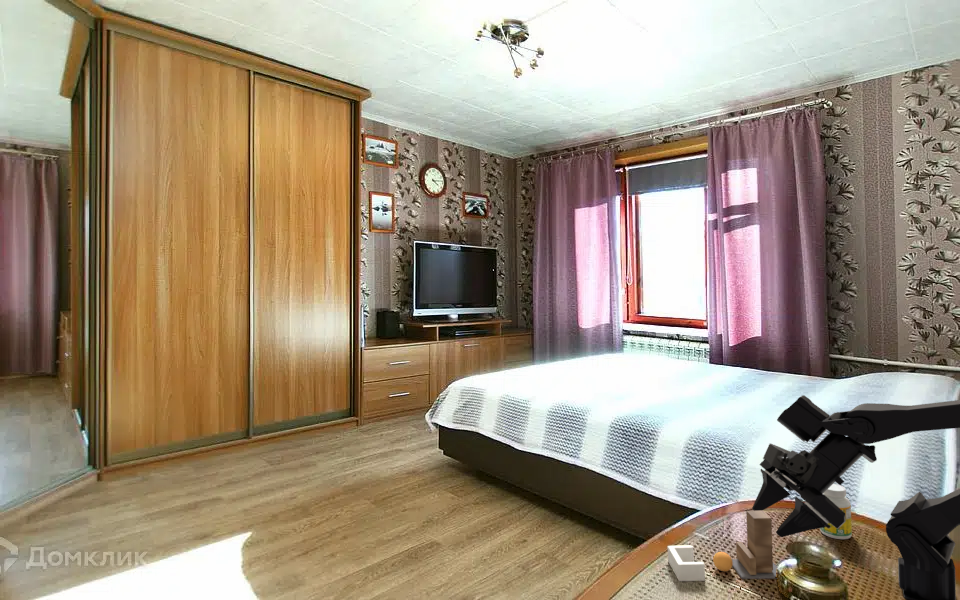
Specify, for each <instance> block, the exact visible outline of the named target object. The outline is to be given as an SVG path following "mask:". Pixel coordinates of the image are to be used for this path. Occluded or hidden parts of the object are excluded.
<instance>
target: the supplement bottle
mask: <svg viewBox="0 0 960 600" xmlns="http://www.w3.org/2000/svg"><path fill="white" fill-rule="evenodd" d="M823 494H824V495H825V496H826V497H827V498H829V499H830V500H831V501H832V502H833V503H834V504H835V505H836V506H837V507H839V508H840V509H841V510H842V511H843V512H844V513H845V514H846V522H845V523H844V524H843V525H842V526H840V527H839V528H838V529H837V528H835V527H834V526H833V525H832V524H830V523H828V525H829V526H830V527H831V528H829V529H828V528H827V527H824V528H819V530H820V533H822V534H823V535H824V536H827V537H829V538H831V539H837V540H848V539H850V538H851V537H852V533H853V532H852V531H853V529H852V526H853V525H852V507H851V506H852V505H851V501H850V499H849V498H848V497H846V496H847V489H846V487H844V486H843V485H842V484H841V485H839V484H837V483H833V484H832V485H831V486H830V487H829V488H828V489H827V490H826V491H825V492H824V493H823Z"/></svg>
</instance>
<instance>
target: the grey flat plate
mask: <svg viewBox="0 0 960 600" xmlns="http://www.w3.org/2000/svg"><path fill="white" fill-rule="evenodd" d="M731 559H732V558H731ZM732 562H733V565H732V568H733V570H735V572H736V573H737V575H739V577H740V578H741V579H742V580H744V579H745V580H749V579H753V580H755V579H757V580H761V579H776V578H775V577H776V568H777V567H778V566H777V565H776V563H774V562H773V570H772V573H756V575H750V574H749V572H748V571H747V570H746V569H745V567H744V566H743V565H742V564H741V562H740V561H739V560H738V559H737V558H736V559H735V558H733V559H732Z"/></svg>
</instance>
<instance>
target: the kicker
mask: <svg viewBox="0 0 960 600" xmlns="http://www.w3.org/2000/svg"><path fill="white" fill-rule="evenodd" d="M772 520H773V519H772V517H771V516H770V515H769V514H768V513H766V512H765V510H760V511H754V510H746V536H747V537H746V538H747V539H746V540H747V542H746V543H747V545H745V544H744V543H743V541H736V542H735V549H736V559H738V560H739V561H740V562H741V564H742V565H743V566H744V567H745V569H746V570H747V571H748V572H749V574H750V575H756V573H772V570H773V563H774V560H773V559H774V557H773V555H774V554H773V525H772V524H773V522H772Z"/></svg>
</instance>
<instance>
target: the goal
mask: <svg viewBox="0 0 960 600" xmlns="http://www.w3.org/2000/svg"><path fill="white" fill-rule="evenodd" d="M694 557H695V556H694V546H693V545H692V544H691V545H690V544H689V545H688V544H687V545H682V544H681V545H667V562H668V564H669V566H670V567H671V569H672V570H673V571H672V572H673V573H674V574H675V576H676V578H677V580H678V582H697V581H698V582H704V581H706V571H705V568H706V566H705V565H706V564H705V563H704V561H695V558H694Z"/></svg>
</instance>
